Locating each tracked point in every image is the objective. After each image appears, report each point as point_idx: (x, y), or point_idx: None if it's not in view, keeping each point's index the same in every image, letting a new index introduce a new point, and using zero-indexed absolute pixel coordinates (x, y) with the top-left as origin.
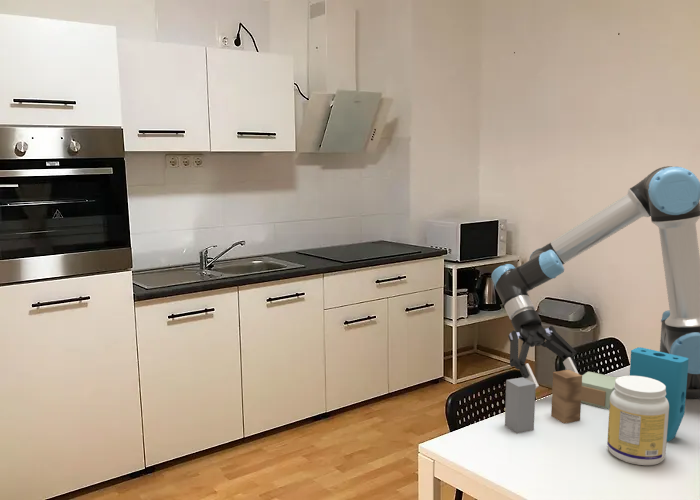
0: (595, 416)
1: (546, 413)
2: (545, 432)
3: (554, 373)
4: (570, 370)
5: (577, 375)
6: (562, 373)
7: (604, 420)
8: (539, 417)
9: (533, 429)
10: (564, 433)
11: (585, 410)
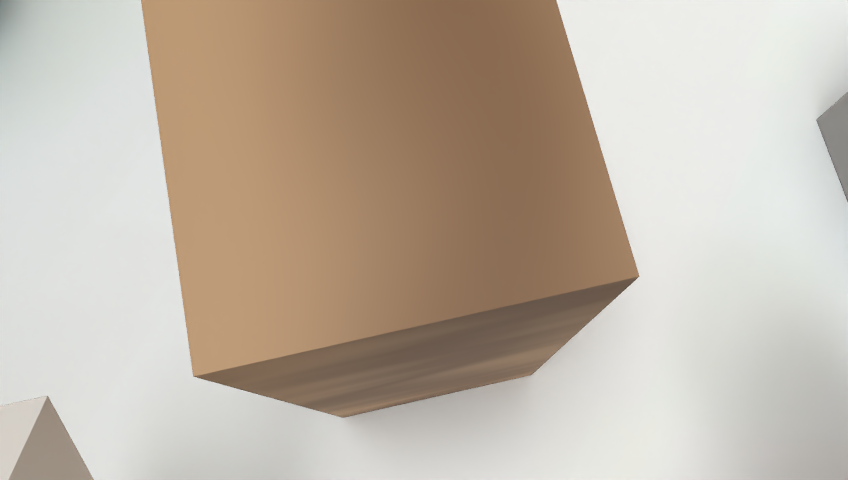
0: (114, 294)
1: (548, 450)
2: (729, 65)
3: (622, 232)
4: (188, 305)
5: (224, 5)
6: (469, 156)
7: (93, 200)
8: (660, 368)
9: (823, 116)
10: (576, 26)
11: (117, 447)
